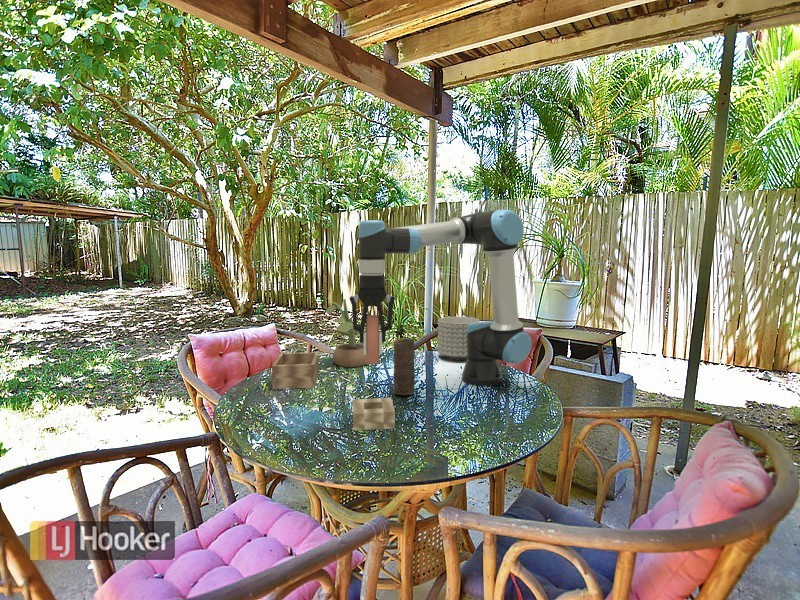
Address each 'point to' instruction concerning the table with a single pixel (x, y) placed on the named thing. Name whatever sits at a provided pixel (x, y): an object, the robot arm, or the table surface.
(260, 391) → the table surface
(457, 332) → the planter
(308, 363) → the frame
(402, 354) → the brown log
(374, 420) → the socket block
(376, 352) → the peg
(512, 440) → the table surface
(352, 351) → the potted plant
